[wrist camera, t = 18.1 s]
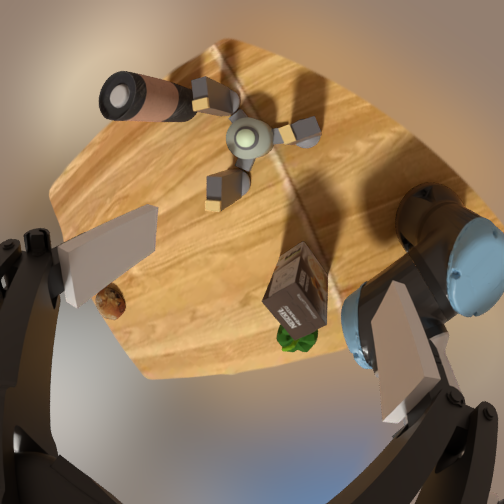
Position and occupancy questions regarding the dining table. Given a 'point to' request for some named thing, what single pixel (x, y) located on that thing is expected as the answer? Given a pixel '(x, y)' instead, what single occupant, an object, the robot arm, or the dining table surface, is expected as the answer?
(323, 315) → the coffee box
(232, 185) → the grey block tan end
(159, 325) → the dining table surface
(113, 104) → the travel mug
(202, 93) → the grey post tan tip
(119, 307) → the bread roll
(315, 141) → the dark grey upright block
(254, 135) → the tribrach hub
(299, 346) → the bell pepper
